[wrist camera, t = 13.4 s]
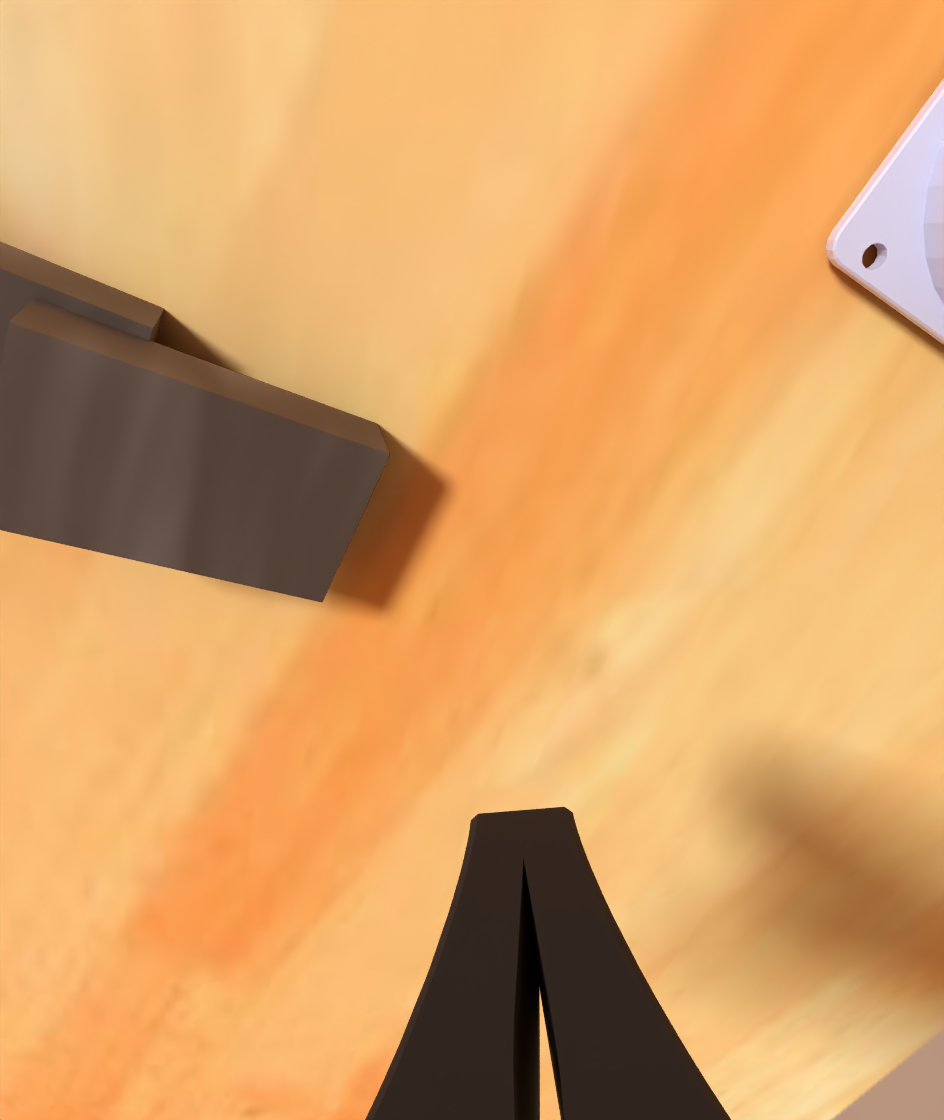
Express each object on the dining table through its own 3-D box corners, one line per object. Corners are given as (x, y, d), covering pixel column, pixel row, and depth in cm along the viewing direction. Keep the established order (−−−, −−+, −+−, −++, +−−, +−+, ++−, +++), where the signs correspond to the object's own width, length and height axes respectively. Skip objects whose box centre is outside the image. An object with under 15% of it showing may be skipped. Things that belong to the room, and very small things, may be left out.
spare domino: (389, 454, 15) (8, 321, 12) (322, 602, 17) (-27, 523, 14) (377, 424, 17) (33, 297, 13) (316, 563, 19) (-2, 484, 15)
